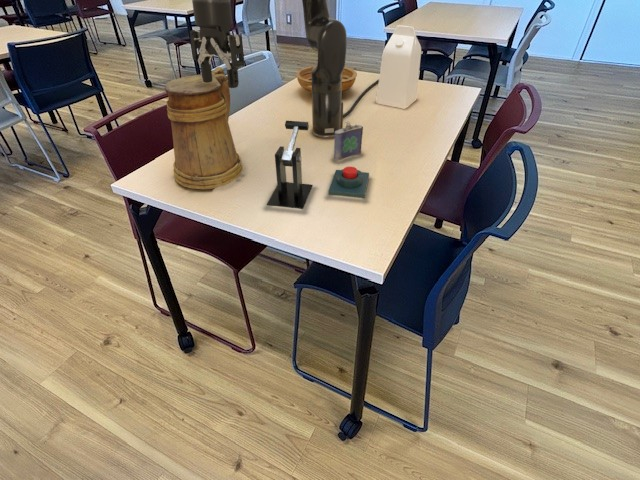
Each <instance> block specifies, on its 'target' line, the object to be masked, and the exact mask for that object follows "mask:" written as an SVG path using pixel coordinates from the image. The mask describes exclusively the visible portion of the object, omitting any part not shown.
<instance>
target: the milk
mask: <svg viewBox="0 0 640 480" xmlns="http://www.w3.org/2000/svg"><path fill="white" fill-rule="evenodd" d="M384 46H385V47H384V49H383V51H382V56H381V61H380V62H381V63H380V70H379V76H378V77H379V78H378V80H379V82H378V83H377V84H378V85H377V91H376V98H375V104H377V105H383V106H387V107H393V108H397V109H402V110H406V109H407V108H408V107H409V106H411V105H412V104H413V103H414V102H415V101H417V96H418V87H419V79H420V78H419V76H420V67H421V57H422V46H421V43H420V41H419V39H418V36H417V34H416V30H415V26H411V25H401V24H397V25H396V26H395V28H394V30H393V33H392V34H391V36H390V38H389V40H388V41H387V43H386V45H384Z"/></svg>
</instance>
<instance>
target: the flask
mask: <svg viewBox="0 0 640 480" xmlns="http://www.w3.org/2000/svg"><path fill="white" fill-rule="evenodd" d="M363 130H364V126H362V125H360V124H354V125H352V124H351V122H350V121H345V127H343V129H340V130H337V131H335V134H334V135H335V137H334V141H333V143H334V145H333V159H334V160H337V161H339V160H342V159H344V158H347V157H351V156H354V155H359V154H361V153H362V144H363V134H364V132H363Z"/></svg>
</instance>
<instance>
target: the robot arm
mask: <svg viewBox="0 0 640 480" xmlns="http://www.w3.org/2000/svg"><path fill="white" fill-rule="evenodd" d="M191 2H192V10H193V18H194V24H195V26H196V27H199V29H191V30H190V31H189V36H190V38H189V39H190V48H191V55H192V56H191V57H192V60H193V61H197V63H198V64H199V65H200V72H201V73H200V74H202V78H203V82H206V83H208V82H212V80H213V79H212V64H211V61H212V58H213V57H214V56H216V57H219V59H220V60H221V61H222V62H223V63H224V65H225V67H226V68H227V69H226V76H227V78H228V87H229V89H236V88H238V86H239V83H240V81H239V68H242V67H245V53H244V45H243V37H242V35H241V33H240V34H231V31H230V28H231V27H232V26H233V15H232V6H231V5H232V3H231V0H191ZM301 2H302V11H303V23H304V33H305V38H306V41H307V44H308V46H309V47H310V48H311V49H312V50H313V51H315V52H317V64H316V65H314V66H315V67H313V69H312V72H311V77H312V93H311V118H312V119H311V121H312V129H311V131H312V135H313V136H315V137H317V138H321V139H333V138H335V135H334V134H335V131H337V130H340V129H343V128H344V126H343V125H344V118H345V117H347V116H348V115H349V114H350V113H351V112H352V111H353V110H354V109H355V107H356V106H357V105H358V103H359V101H360V100H361V99H362V98H363V96H364V95H365V94H366V93H367V92H368V91H369V90H370V89H371V88H373V87H374V86H375V85H377V84H379V79H377V80H376V81H375V82H372V84H370V85H369V86H368V87H367V88H366V89H365V90H363V92H361V94H360V95H359V96H358V97H357V98H356V100H355V101H354V103H353V104H352V105H351V107H350V108H349V109H348V111H346V112H345V113H344V102H342V93H343V92H342V73H343V70H344V68H345V67H346V59H347V47H348V46H347V44H348V35H347V30H346V27H345V25H344V24H343V22H341V20H338V19H335V18H332V17H331V16H330V11H329V6H328V0H301Z"/></svg>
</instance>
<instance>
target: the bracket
mask: <svg viewBox="0 0 640 480" xmlns="http://www.w3.org/2000/svg"><path fill="white" fill-rule="evenodd" d="M284 150H285V146H279V147H278V149H277V150H276V152H275V153H274V163H275V173H276V175H275V176H276V186H275V189H274V191H272V192H273V193H272V194H271V196H270V197H269V200H268V201H267V203H266V206H271V207H281V208H288V209H298V210H304V208H305V206H306V203H307V201H308V198H309V196H310V194H311V191H312V189H313V186H314V185H313V184H311V183H303V174H302V152H301V151H302V149H301V147H296V148H294V150H293V152H294V153H293V155H292V182H289V181H287V168H286V166H283V163H282V156H283V152H284Z"/></svg>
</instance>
